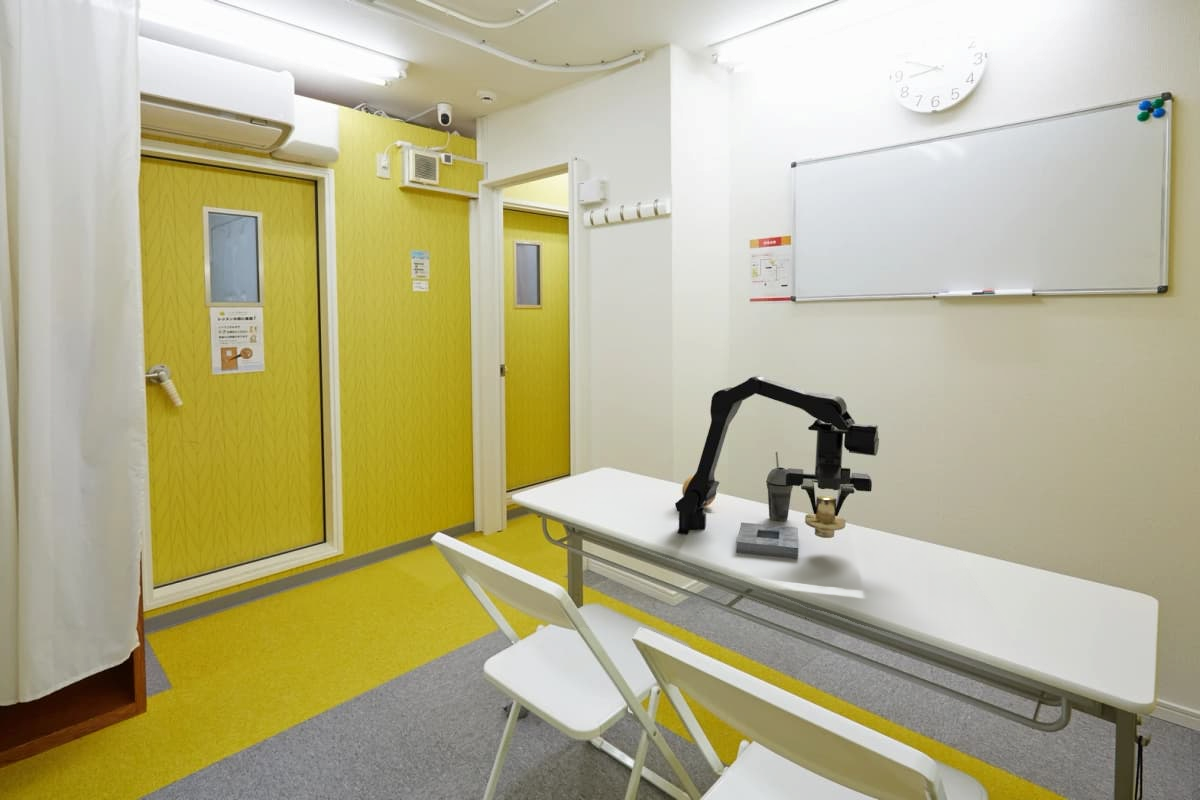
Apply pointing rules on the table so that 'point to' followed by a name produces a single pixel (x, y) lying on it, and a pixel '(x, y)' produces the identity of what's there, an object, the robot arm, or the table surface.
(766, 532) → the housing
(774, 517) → the beverage cup
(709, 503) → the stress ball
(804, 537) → the table surface
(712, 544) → the table surface
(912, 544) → the table surface
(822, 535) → the end cover
